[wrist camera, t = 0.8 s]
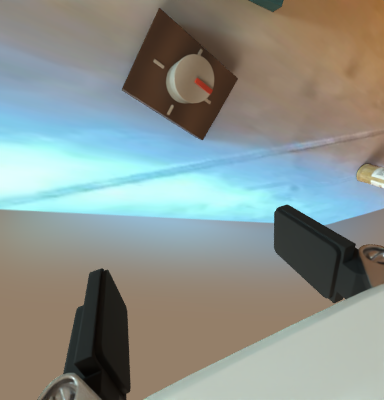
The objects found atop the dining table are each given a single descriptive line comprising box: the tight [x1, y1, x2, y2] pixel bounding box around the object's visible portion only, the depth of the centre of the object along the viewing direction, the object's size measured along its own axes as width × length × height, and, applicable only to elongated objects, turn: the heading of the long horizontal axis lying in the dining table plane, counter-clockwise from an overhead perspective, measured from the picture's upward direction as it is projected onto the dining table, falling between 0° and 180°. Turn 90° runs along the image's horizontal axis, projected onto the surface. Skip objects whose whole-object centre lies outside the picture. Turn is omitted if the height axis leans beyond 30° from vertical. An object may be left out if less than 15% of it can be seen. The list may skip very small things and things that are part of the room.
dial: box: [166, 54, 214, 104], centre depth 26 cm, size 5×5×5 cm
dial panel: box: [122, 8, 238, 140], centre depth 30 cm, size 13×10×3 cm
